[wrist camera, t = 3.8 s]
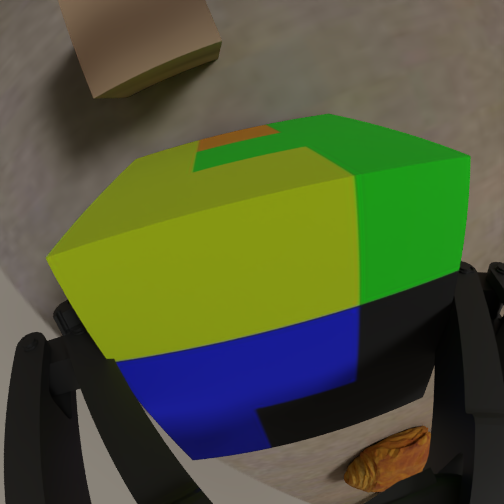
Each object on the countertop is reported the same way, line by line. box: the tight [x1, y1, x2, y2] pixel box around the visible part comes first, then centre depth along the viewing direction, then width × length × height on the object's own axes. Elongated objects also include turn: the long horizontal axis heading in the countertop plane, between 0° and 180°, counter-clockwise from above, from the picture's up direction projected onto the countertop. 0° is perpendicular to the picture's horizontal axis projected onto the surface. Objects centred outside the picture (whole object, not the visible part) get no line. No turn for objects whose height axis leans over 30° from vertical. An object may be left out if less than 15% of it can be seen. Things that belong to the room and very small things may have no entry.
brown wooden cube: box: [58, 0, 222, 99], centre depth 10 cm, size 5×5×5 cm
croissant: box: [344, 426, 431, 492], centre depth 36 cm, size 14×16×8 cm
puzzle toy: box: [46, 114, 470, 460], centre depth 13 cm, size 10×10×10 cm
